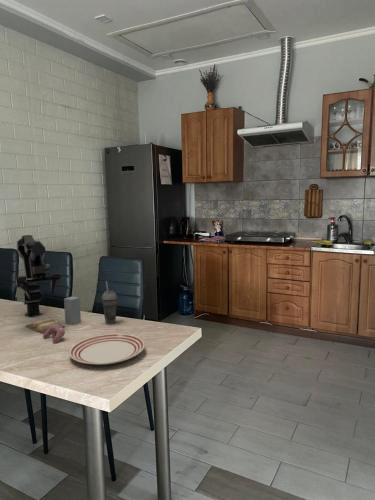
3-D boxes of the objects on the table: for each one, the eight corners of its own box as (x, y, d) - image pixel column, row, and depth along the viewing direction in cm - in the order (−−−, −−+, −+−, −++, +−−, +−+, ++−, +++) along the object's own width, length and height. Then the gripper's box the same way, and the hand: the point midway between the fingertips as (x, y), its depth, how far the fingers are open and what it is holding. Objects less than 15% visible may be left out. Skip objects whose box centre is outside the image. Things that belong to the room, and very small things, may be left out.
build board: (25, 326, 173) (25, 321, 172) (47, 320, 181) (47, 315, 181) (42, 333, 163) (41, 327, 163) (64, 327, 171) (64, 321, 171)
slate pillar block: (65, 323, 177) (64, 298, 175) (73, 320, 181) (72, 296, 179) (72, 325, 174) (71, 300, 173) (80, 322, 178) (79, 297, 177)
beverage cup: (116, 325, 173) (115, 282, 171) (100, 325, 173) (99, 282, 171) (119, 320, 180) (118, 279, 178) (104, 320, 180) (102, 279, 178)
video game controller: (62, 345, 154) (68, 328, 155) (52, 343, 150) (59, 326, 152) (50, 339, 160) (56, 323, 162) (41, 337, 157) (47, 321, 159)
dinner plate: (112, 377, 122) (111, 367, 121) (53, 361, 135) (52, 352, 134) (159, 348, 145) (158, 340, 145) (104, 337, 159) (104, 329, 158)
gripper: (15, 259, 161) (19, 292, 155) (60, 256, 170) (65, 287, 164) (14, 270, 170) (18, 302, 163) (57, 267, 179) (62, 297, 173)
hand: (41, 297), depth 166 cm, fingers open, 9 cm apart
